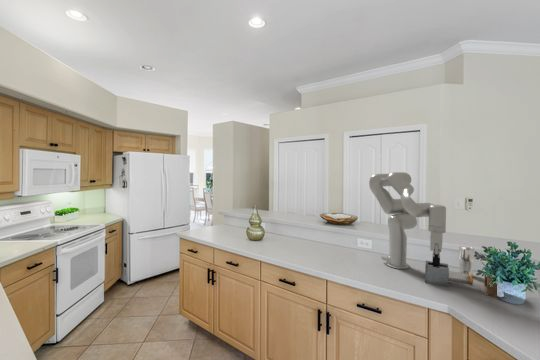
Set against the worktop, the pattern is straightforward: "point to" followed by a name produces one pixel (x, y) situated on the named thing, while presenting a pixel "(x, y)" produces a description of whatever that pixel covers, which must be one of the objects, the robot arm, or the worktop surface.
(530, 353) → the worktop surface
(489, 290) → the socket
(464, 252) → the beer glass
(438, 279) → the sleeve
